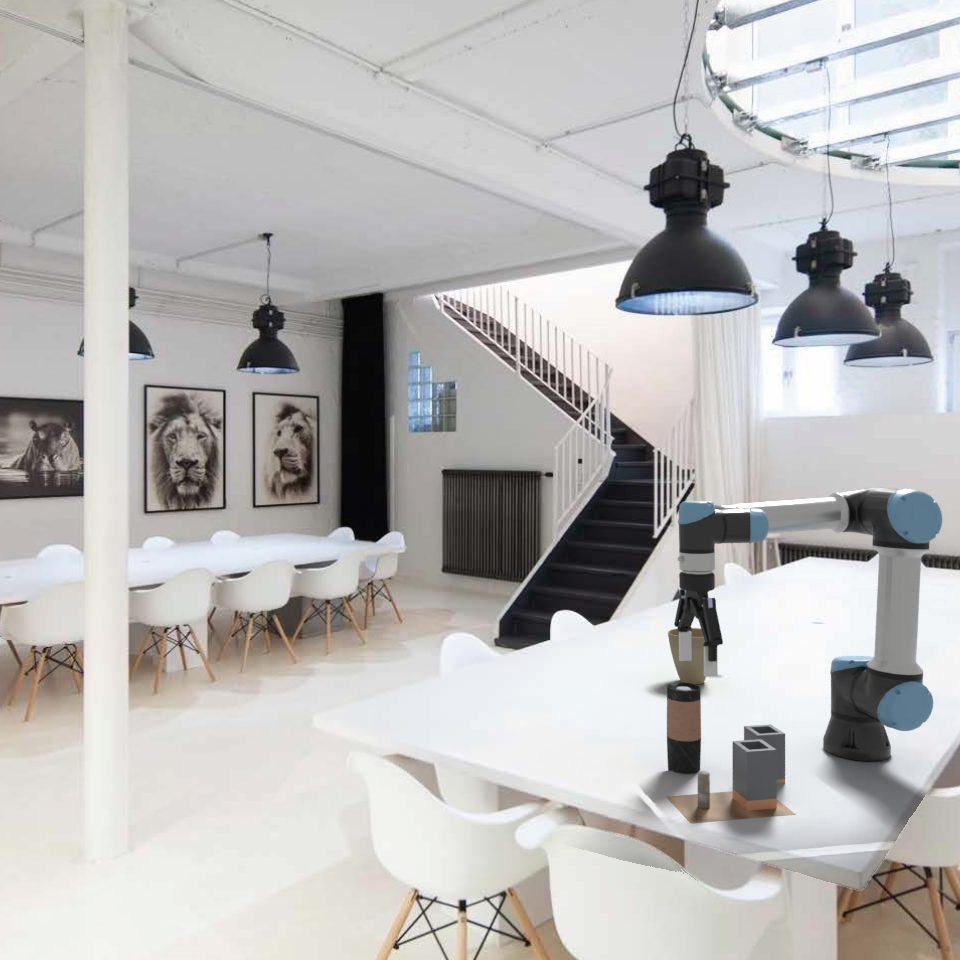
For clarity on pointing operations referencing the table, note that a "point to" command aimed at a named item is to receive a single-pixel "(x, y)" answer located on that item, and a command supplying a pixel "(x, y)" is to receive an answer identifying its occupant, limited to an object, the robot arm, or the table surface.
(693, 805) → the pinboard
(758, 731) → the banded sleeve
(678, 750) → the travel mug
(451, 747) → the table surface
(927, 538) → the robot arm
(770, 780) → the seated sleeve
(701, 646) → the plant pot
